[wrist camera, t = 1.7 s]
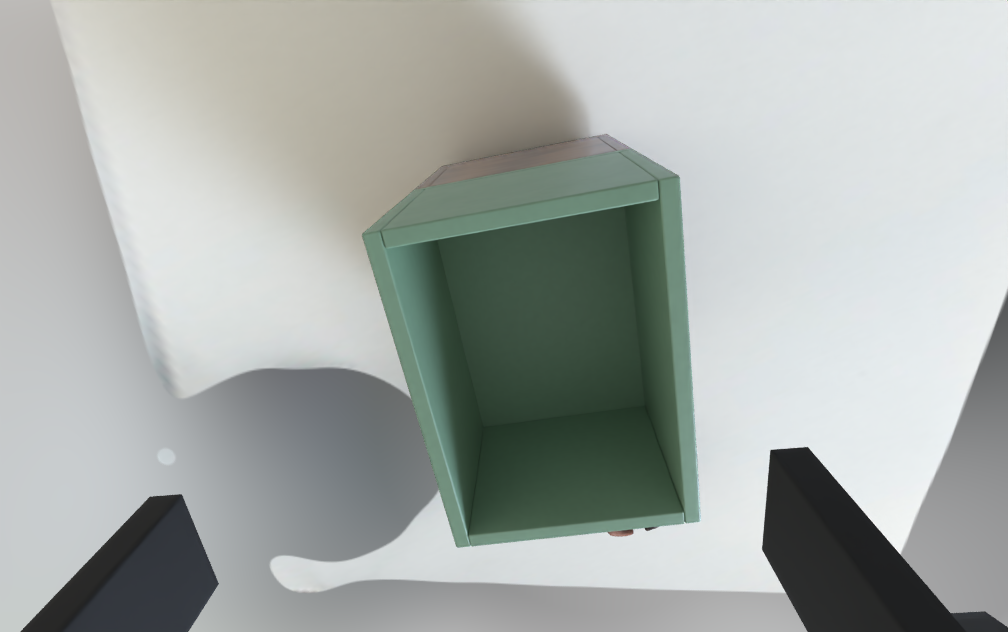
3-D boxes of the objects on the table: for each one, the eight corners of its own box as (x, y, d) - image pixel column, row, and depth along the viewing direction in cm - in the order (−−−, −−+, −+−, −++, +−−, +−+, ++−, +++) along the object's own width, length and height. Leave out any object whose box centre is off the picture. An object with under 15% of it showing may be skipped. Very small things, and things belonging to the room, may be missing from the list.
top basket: (628, 145, 26) (680, 175, 17) (652, 398, 32) (701, 522, 23) (417, 186, 28) (360, 234, 18) (477, 422, 33) (456, 548, 24)
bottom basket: (604, 132, 35) (631, 147, 25) (627, 335, 40) (656, 407, 31) (443, 164, 36) (413, 189, 27) (487, 356, 42) (475, 431, 32)
